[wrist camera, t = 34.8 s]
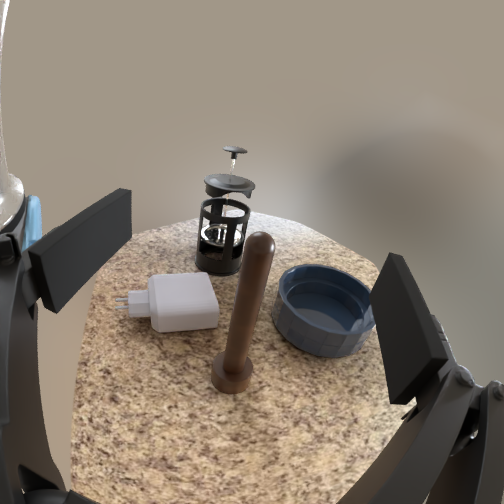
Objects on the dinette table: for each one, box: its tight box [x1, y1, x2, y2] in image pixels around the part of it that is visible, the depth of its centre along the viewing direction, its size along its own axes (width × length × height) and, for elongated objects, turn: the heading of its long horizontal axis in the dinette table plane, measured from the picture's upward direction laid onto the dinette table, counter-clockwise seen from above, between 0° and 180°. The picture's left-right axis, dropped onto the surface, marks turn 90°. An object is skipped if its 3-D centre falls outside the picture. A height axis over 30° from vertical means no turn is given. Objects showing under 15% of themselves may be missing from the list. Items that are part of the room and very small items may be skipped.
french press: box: [195, 146, 255, 276], centre depth 52 cm, size 12×9×23 cm
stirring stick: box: [211, 232, 275, 394], centre depth 29 cm, size 5×5×21 cm
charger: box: [115, 272, 220, 333], centre depth 41 cm, size 5×9×15 cm
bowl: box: [271, 264, 376, 358], centre depth 46 cm, size 17×17×6 cm
